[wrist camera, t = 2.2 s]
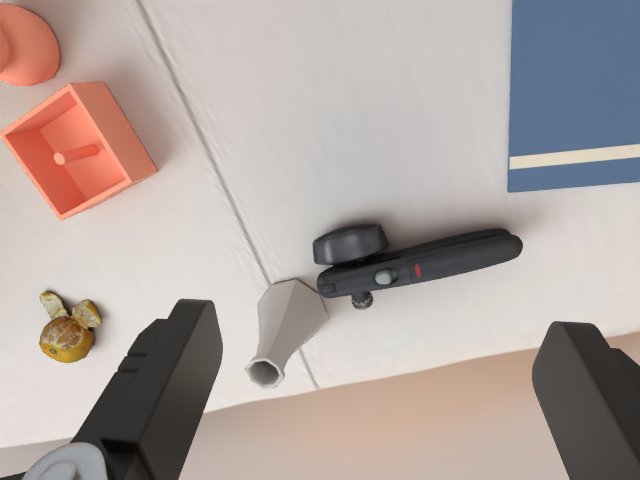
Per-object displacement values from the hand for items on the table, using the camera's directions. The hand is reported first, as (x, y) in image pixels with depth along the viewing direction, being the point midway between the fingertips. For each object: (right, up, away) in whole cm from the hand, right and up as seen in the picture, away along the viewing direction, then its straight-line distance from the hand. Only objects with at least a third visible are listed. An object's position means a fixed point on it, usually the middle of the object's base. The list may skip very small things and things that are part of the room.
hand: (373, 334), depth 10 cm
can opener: (+7, +2, +28) cm, 29 cm away
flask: (-4, -5, +33) cm, 33 cm away
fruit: (-31, -7, +39) cm, 50 cm away
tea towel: (+19, +15, +20) cm, 31 cm away
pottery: (-25, +15, +29) cm, 41 cm away
